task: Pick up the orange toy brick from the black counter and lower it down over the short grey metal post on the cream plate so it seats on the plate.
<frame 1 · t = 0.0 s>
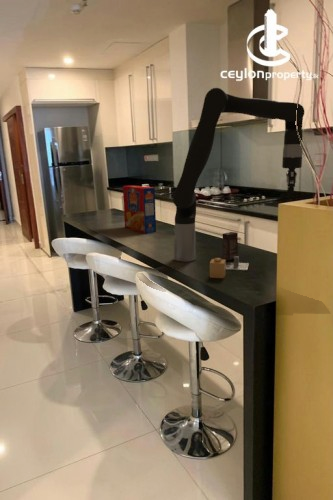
hand: (290, 196, 161), 29 cm above the breakfast bar, fingers open, 8 cm apart
pasta box: (139, 230, 253), on the breakfast bar
orange toy brick: (217, 275, 154), on the breakfast bar
square plate with peg: (236, 266, 166), on the breakfast bar
box: (230, 258, 179), on the breakfast bar
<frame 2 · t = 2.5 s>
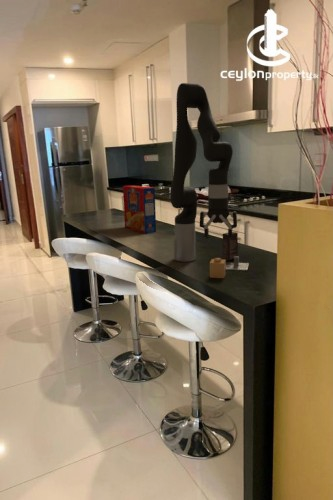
hand: (218, 238, 151), 15 cm above the breakfast bar, fingers open, 8 cm apart
nothing on the breakfast bar moved.
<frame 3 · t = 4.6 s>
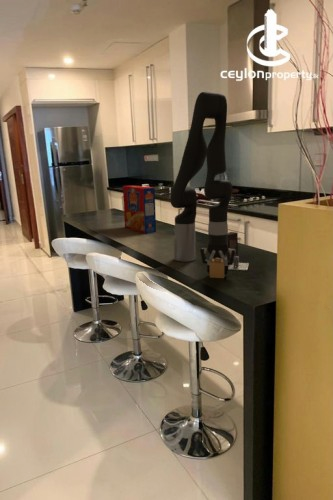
hand: (217, 273, 154), 1 cm above the breakfast bar, fingers closed on orange toy brick, 5 cm apart
orange toy brick: (217, 275, 154), on the breakfast bar, touching gripper
everything else where it was.
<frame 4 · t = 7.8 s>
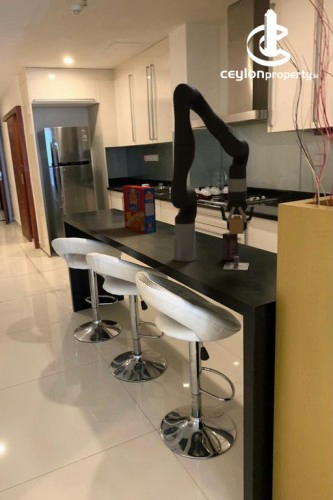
hand: (236, 230, 162), 16 cm above the breakfast bar, fingers closed on orange toy brick, 5 cm apart
orange toy brick: (236, 232, 162), point 15 cm above the breakfast bar, touching gripper
everything else where it was.
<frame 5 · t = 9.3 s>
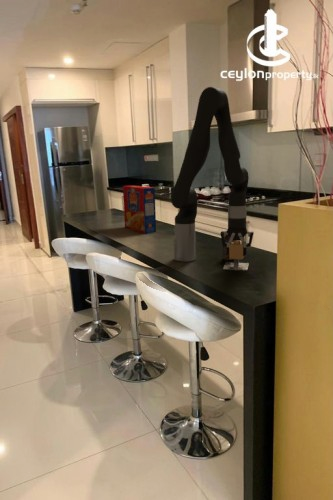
hand: (236, 255, 165), 5 cm above the breakfast bar, fingers closed on orange toy brick, 5 cm apart
orange toy brick: (236, 257, 165), point 4 cm above the breakfast bar, touching gripper
everything else where it was.
when the fingers open (2 cm above the breakfast bar, at t = 10.8 s): orange toy brick stays where it is, resting on square plate with peg.
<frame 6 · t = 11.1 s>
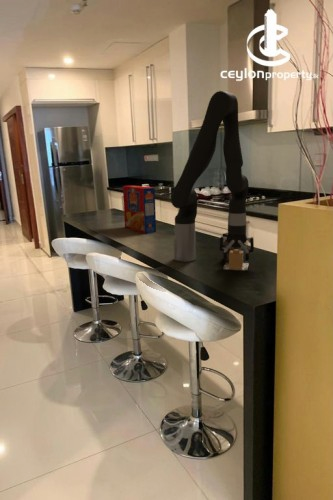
hand: (236, 260, 165), 3 cm above the breakfast bar, fingers open, 8 cm apart
orange toy brick: (236, 265, 166), resting on square plate with peg
everything else where it was.
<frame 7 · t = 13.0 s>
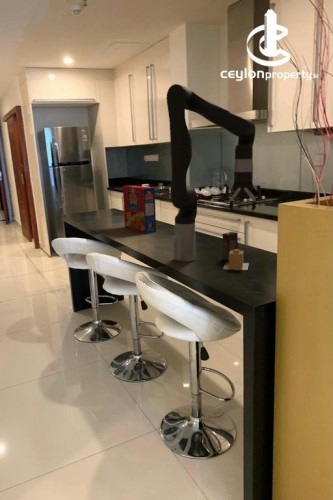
hand: (242, 210, 161), 24 cm above the breakfast bar, fingers open, 8 cm apart
nothing on the breakfast bar moved.
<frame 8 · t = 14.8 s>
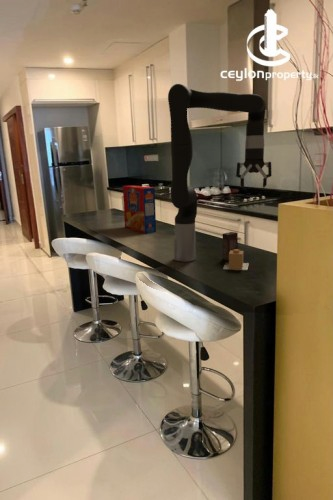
hand: (253, 187, 162), 33 cm above the breakfast bar, fingers open, 8 cm apart
nothing on the breakfast bar moved.
at the end: orange toy brick 0.1 cm off-centre on the square plate with peg, point 0.4 cm above the square plate with peg's base; orange toy brick tilted 0°; the gripper is holding nothing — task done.
